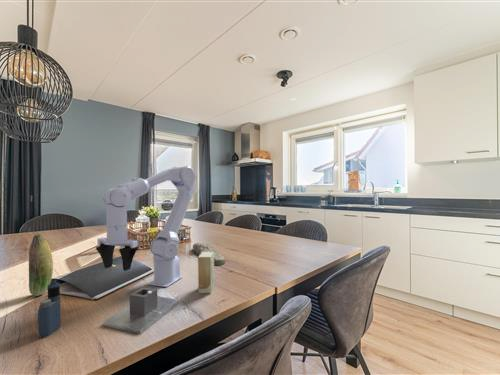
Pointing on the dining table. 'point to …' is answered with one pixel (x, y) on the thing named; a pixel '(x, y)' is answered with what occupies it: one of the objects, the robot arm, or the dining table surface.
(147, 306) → the hollow square box
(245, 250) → the dining table surface
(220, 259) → the elongated rock
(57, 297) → the vaping device
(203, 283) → the skincare box
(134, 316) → the shaft plate
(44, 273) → the vegetable
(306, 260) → the dining table surface
